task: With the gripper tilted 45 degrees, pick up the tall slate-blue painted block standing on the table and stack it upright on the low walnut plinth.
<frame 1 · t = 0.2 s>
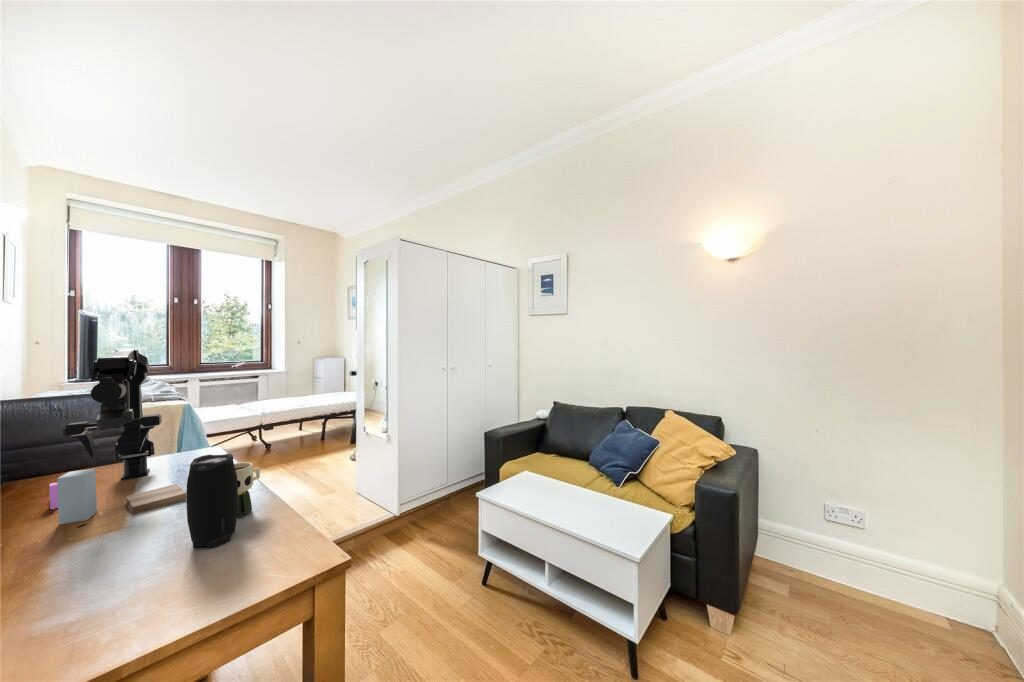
hand: (116, 454, 106), 14 cm above the table, tool pointing down, fingers open, 9 cm apart
plinth: (156, 501, 108), on the table
bracket: (66, 501, 110), on the table
portable speaker: (214, 541, 87), on the table
block: (78, 518, 99), on the table
character mug: (237, 515, 100), on the table
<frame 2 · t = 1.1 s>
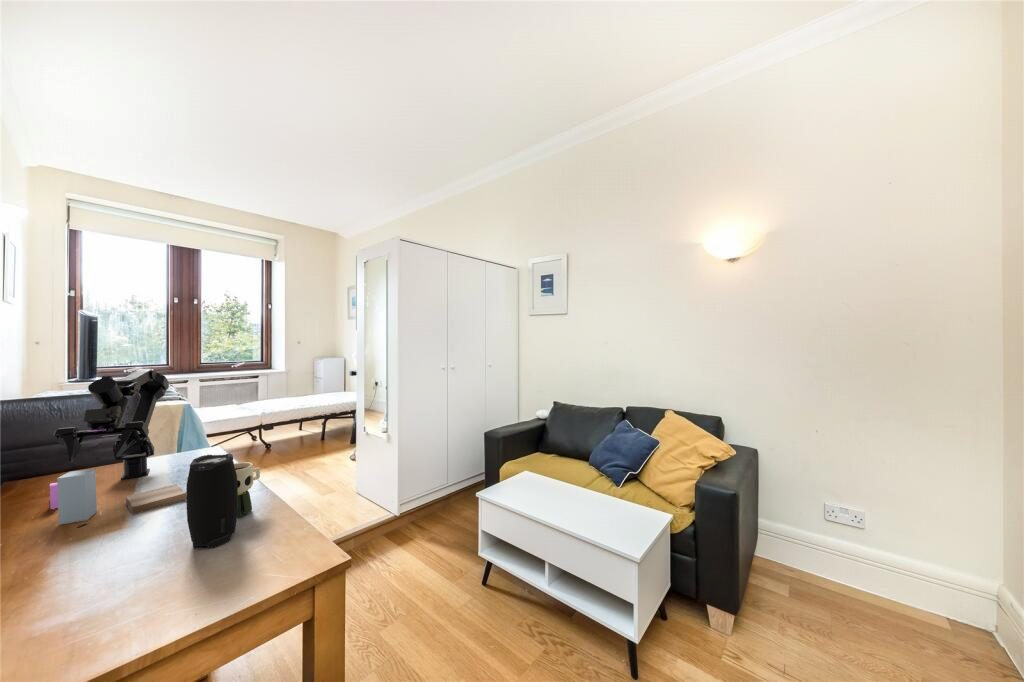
hand: (93, 459, 105), 13 cm above the table, tool tilted 45°, fingers open, 9 cm apart
nothing on the table moved.
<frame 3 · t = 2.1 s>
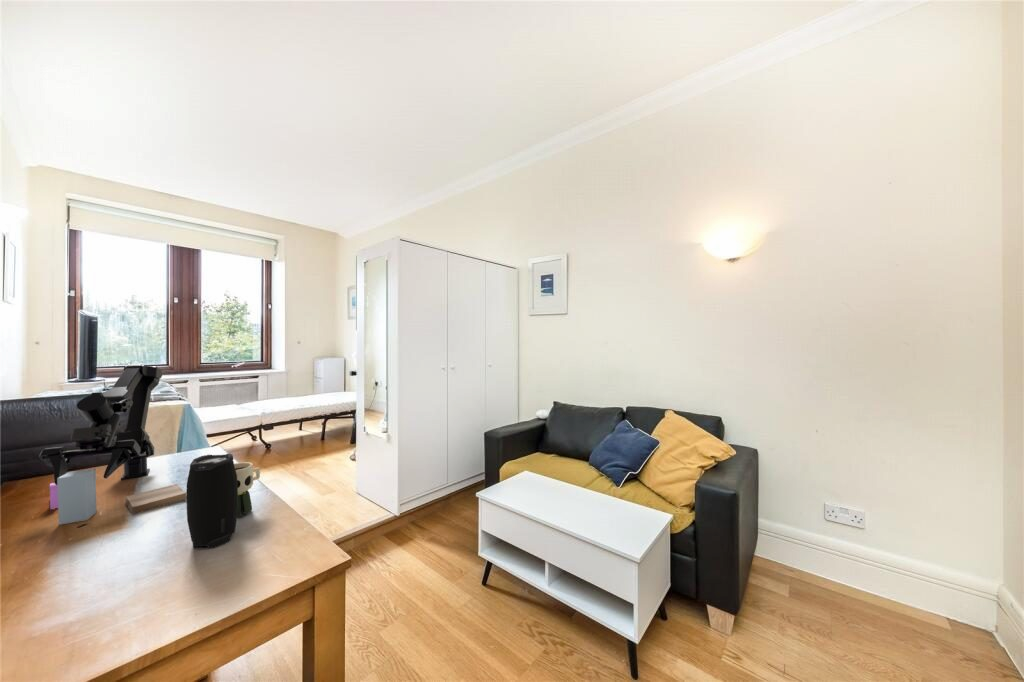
hand: (81, 480, 100), 9 cm above the table, tool tilted 45°, fingers open, 9 cm apart
nothing on the table moved.
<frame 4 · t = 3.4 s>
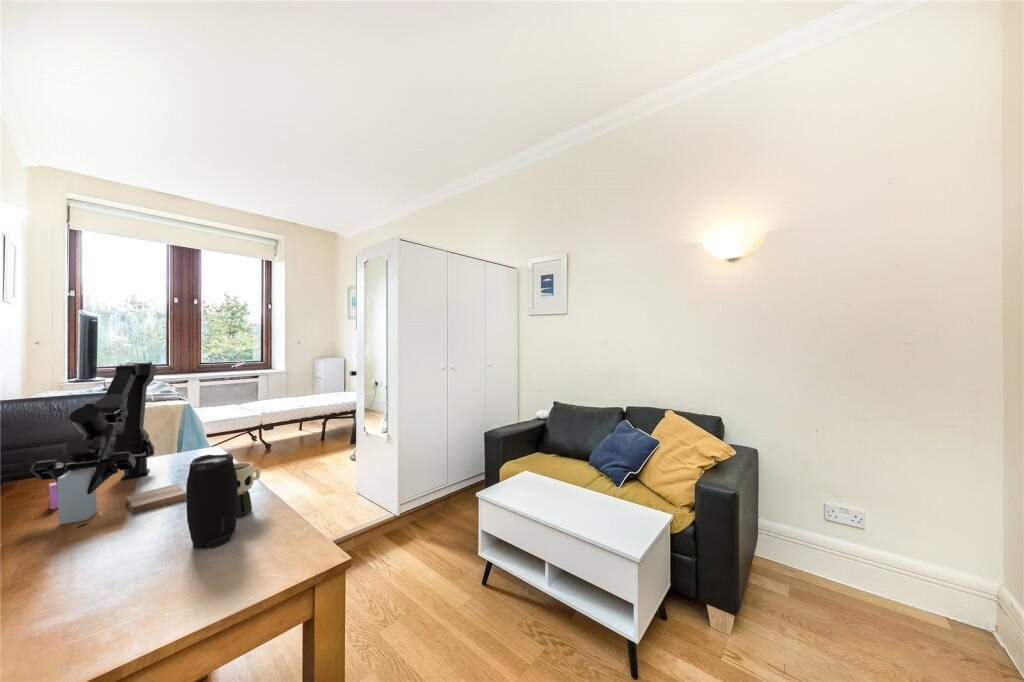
hand: (74, 495, 97), 7 cm above the table, tool tilted 45°, fingers closed on block, 5 cm apart
block: (78, 518, 99), on the table, touching gripper
everything else where it was.
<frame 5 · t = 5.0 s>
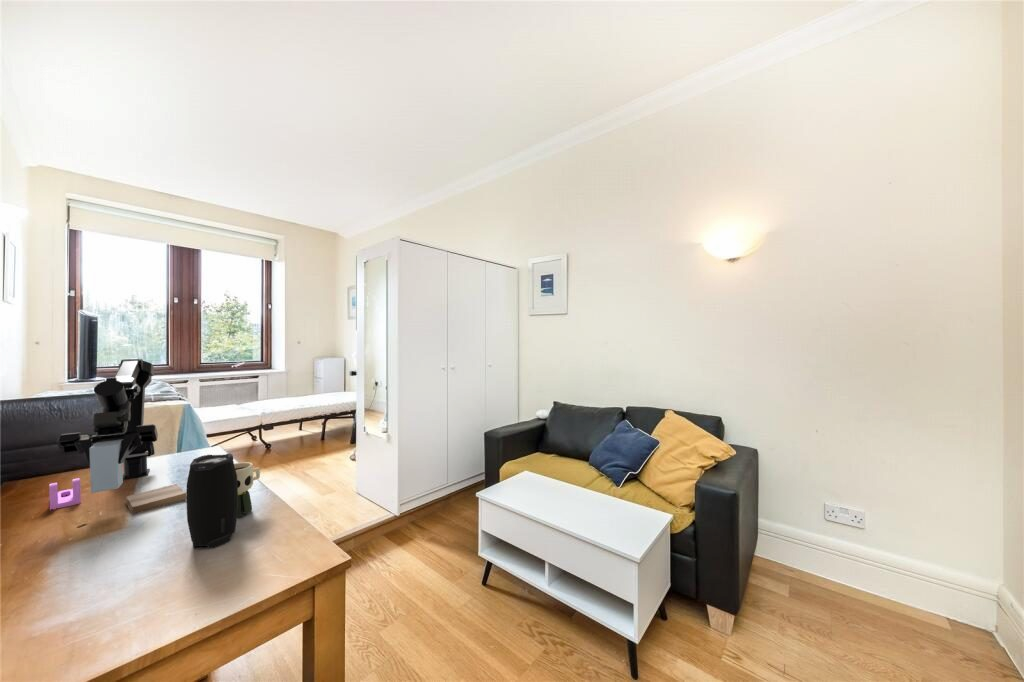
hand: (105, 465, 100), 13 cm above the table, tool tilted 45°, fingers closed on block, 5 cm apart
block: (107, 487, 101), point 7 cm above the table, touching gripper
everything else where it was.
when the fingers open (9 cm above the table, at t = 6.6 s): block stays where it is, resting on plinth.
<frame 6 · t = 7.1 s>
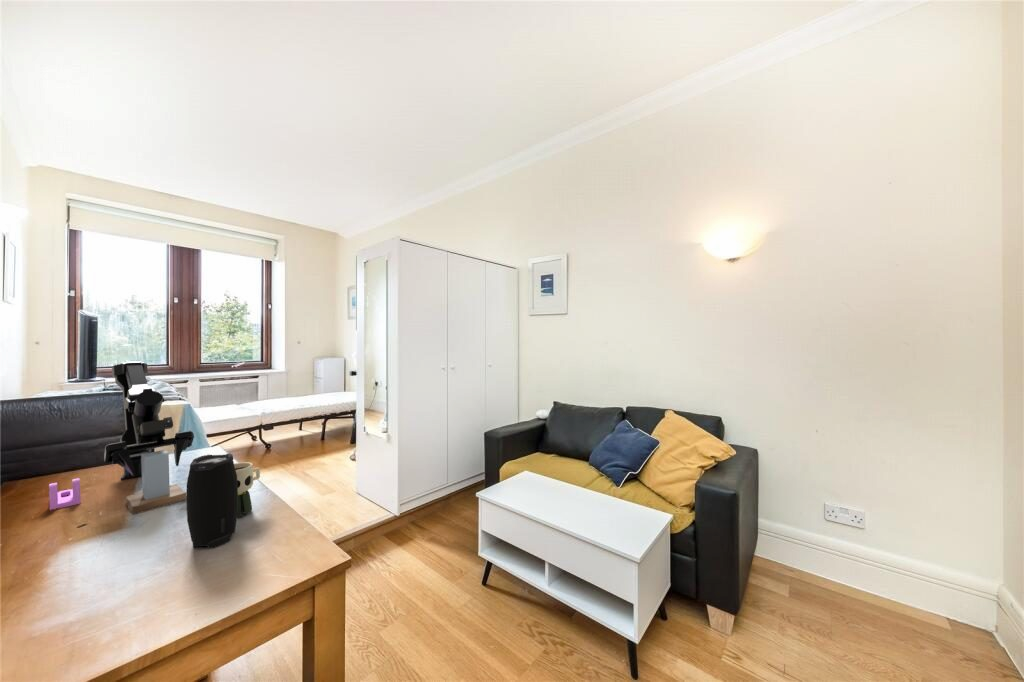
hand: (156, 469, 107), 10 cm above the table, tool tilted 45°, fingers open, 9 cm apart
block: (156, 494, 108), point 2 cm above the table, touching plinth
everything else where it was.
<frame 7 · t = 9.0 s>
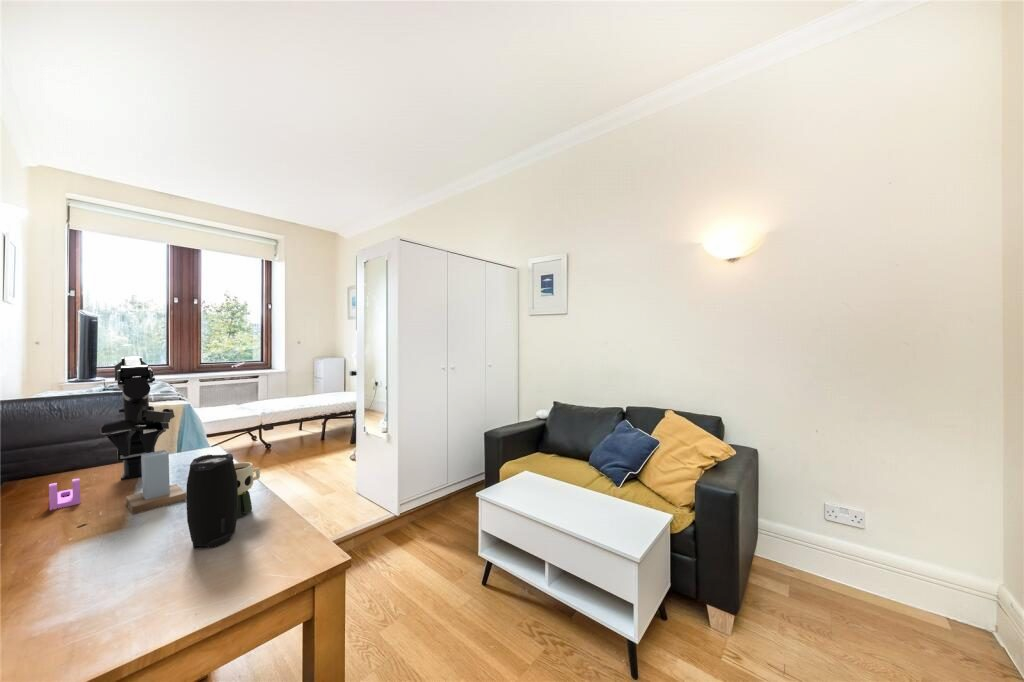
hand: (138, 455, 113), 12 cm above the table, tool tilted 15°, fingers open, 9 cm apart
nothing on the table moved.
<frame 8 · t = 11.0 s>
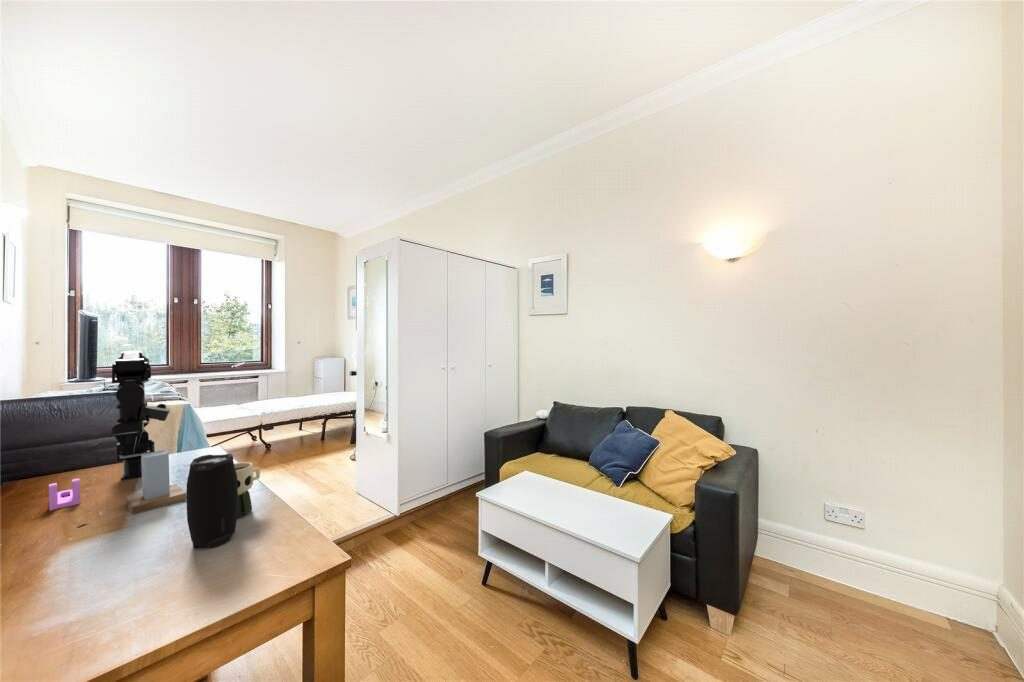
hand: (133, 450, 114), 13 cm above the table, tool pointing down, fingers open, 9 cm apart
nothing on the table moved.
at the end: block inside the target area on the plinth (0.0 cm from its centre), point 2.0 cm above the plinth's base; block tilted 0°; block touching plinth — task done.
